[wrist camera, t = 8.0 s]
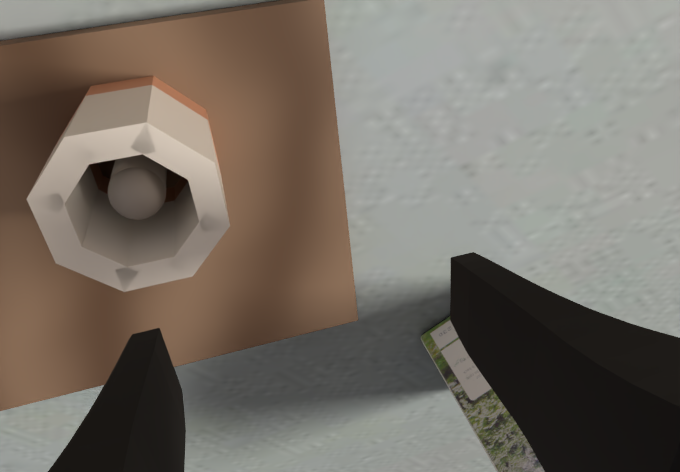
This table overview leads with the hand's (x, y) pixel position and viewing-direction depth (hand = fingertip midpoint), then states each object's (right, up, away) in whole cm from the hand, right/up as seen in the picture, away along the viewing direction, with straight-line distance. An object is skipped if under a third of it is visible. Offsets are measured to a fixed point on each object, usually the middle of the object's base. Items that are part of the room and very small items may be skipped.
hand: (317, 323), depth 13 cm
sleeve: (-6, +5, +6) cm, 10 cm away
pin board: (-9, +2, +8) cm, 12 cm away
